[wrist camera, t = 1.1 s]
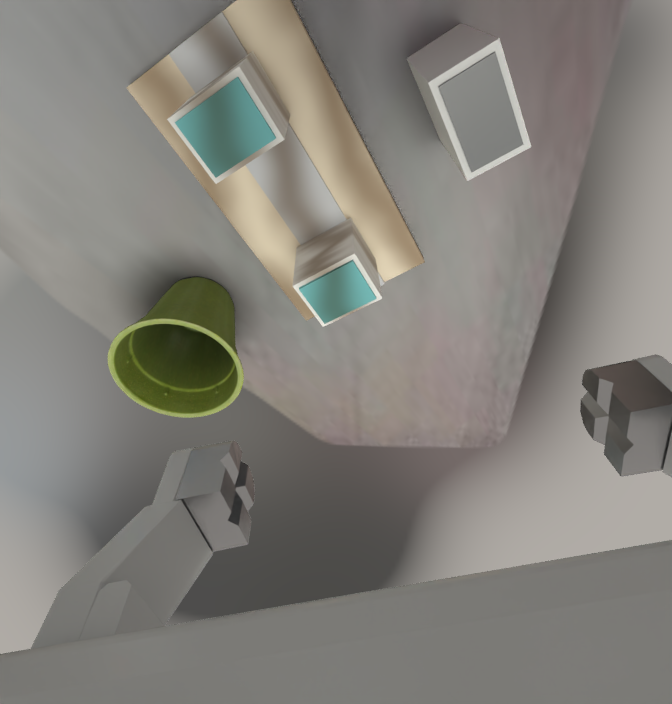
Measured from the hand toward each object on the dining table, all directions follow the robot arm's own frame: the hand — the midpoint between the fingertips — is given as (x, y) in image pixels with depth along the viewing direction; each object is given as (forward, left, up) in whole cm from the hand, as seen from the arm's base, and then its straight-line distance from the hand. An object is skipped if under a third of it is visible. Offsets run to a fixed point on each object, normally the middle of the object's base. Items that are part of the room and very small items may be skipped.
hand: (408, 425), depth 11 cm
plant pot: (+24, +9, -35) cm, 43 cm away
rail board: (+8, +3, -35) cm, 36 cm away
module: (-7, +3, -35) cm, 36 cm away
